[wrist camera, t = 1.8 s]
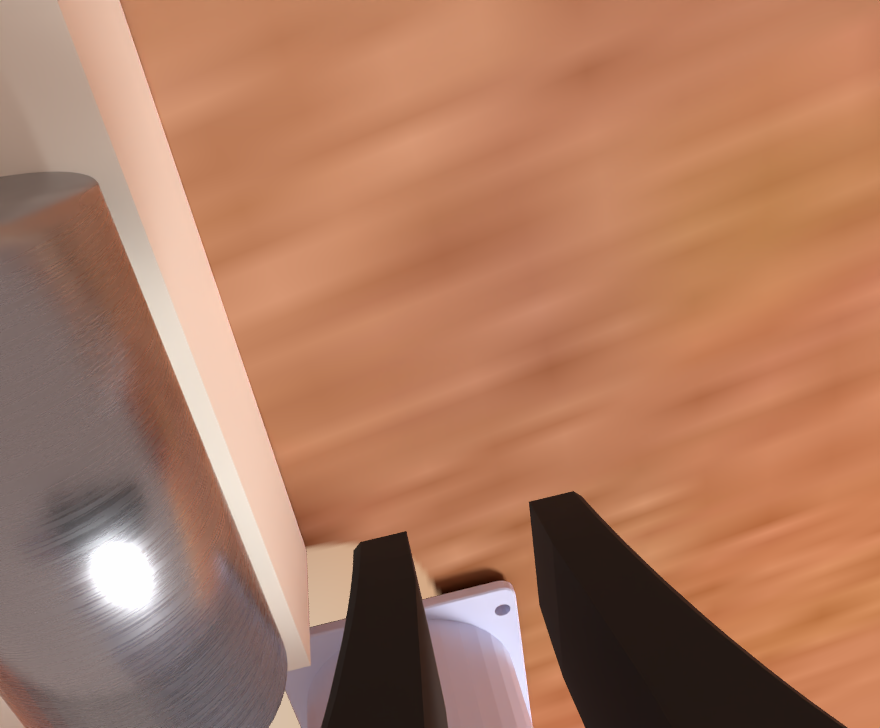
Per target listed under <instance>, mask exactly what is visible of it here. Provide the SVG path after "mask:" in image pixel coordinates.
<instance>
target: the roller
mask: <svg viewBox="0 0 880 728" xmlns="http://www.w3.org/2000/svg"><path fill="white" fill-rule="evenodd" d="M287 669H288V663H287V654H286V650H285V646H284V643H283V640H282V638H281V635H280V633H279V630H278V628H277V625H276V623H275V620H274V618H273V615H272V613H271V610H270V608H269V605H268V603H267V600H266V598H265V595H264V593H263V591H262V588H261V586H260V583H259V581H258V578H257V576H256V573H255V571H254V568H253V566H252V563H251V561H250V558H249V556H248V553H247V551H246V548H245V546H244V543H243V541H242V538H241V536H240V533H239V531H238V529H237V526H236V524H235V521H234V519H233V516H232V514H231V511H230V509H229V506H228V504H227V501H226V499H225V496H224V494H223V491H222V489H221V486H220V484H219V481H218V479H217V476H216V474H215V471H214V469H213V467H212V464H211V462H210V459H209V457H208V454H207V452H206V449H205V447H204V444H203V442H202V439H201V437H200V434H199V432H198V429H197V427H196V424H195V422H194V419H193V417H192V414H191V412H190V409H189V407H188V405H187V402H186V400H185V397H184V395H183V392H182V390H181V387H180V385H179V382H178V380H177V377H176V375H175V372H174V370H173V367H172V365H171V362H170V360H169V357H168V355H167V352H166V350H165V347H164V345H163V343H162V340H161V338H160V335H159V333H158V330H157V328H156V325H155V323H154V320H153V318H152V315H151V313H150V310H149V308H148V305H147V303H146V300H145V298H144V295H143V293H142V290H141V288H140V285H139V283H138V280H137V278H136V276H135V273H134V271H133V268H132V266H131V263H130V261H129V258H128V256H127V253H126V251H125V248H124V246H123V243H122V241H121V238H120V236H119V233H118V231H117V228H116V226H115V223H114V221H113V218H112V216H111V214H110V211H109V209H108V206H107V204H106V201H105V199H104V196H103V194H102V191H101V189H100V186H99V184H98V182H97V181H96V180H95V179H94V178H92V177H90V176H88V175H84V174H81V173H74V172H36V173H25V174H17V175H9V176H2V177H0V696H1V698H2V699H3V700H4V701H5V703H6V704H7V705H8V707H9V708H10V709H11V710H12V712H13V713H14V714H15V716H16V717H17V718H18V719H19V721H20V722H21V723H22V725H23V726H24V727H25V728H269V726H270V724H271V722H272V721H273V719H274V717H275V715H276V713H277V710H278V708H279V706H280V704H281V701H282V698H283V694H284V691H285V686H286V681H287Z"/></svg>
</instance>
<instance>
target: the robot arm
mask: <svg viewBox="0 0 880 728" xmlns="http://www.w3.org/2000/svg"><path fill="white" fill-rule="evenodd" d="M529 507H530V517H531V526H532V536H533V546H534V556H535V566H536V575H537V585H538V595H539V605H540V608H541V611H542V614H543V617H544V620H545V623H546V627H547V630H548V633H549V636H550V639H551V642H552V645H553V648H554V651H555V654H556V657H557V660H558V663H559V666H560V669H561V672H562V675H563V678H564V680H565V682H566V685H567V687H568V689H569V692H570V694H571V696H572V698H573V701H574V703H575V705H576V707H577V710H578V712H579V714H580V717H581V719H582V721H583V723H584V726H585V728H847V727H846V726H844V725H843V724H842V723H840V722H839V721H837V720H836V719H835V718H833V717H832V716H830V715H829V714H828V713H826V712H825V711H823V710H822V709H821V708H819V707H818V706H817V705H815V704H814V703H812V702H811V701H810V700H808V699H807V698H806V697H804V696H803V695H802V694H800V693H799V692H798V691H796V690H795V689H794V688H792V687H791V686H790V685H789V684H787V683H786V682H785V681H783V680H782V679H781V678H780V677H778V676H777V675H776V674H774V673H773V672H772V671H770V670H769V669H768V668H767V667H765V666H764V665H763V664H762V663H760V662H759V661H758V660H757V659H756V658H754V657H753V656H752V655H751V654H749V653H748V652H747V651H746V650H744V649H743V648H742V647H741V646H740V645H738V644H737V643H736V642H735V641H733V640H732V639H731V638H730V637H729V636H727V635H726V634H725V633H724V632H723V631H721V630H720V629H719V628H718V627H717V626H716V625H714V624H713V623H712V622H711V621H710V620H709V619H707V618H706V617H705V616H704V615H703V614H702V613H701V612H699V611H698V610H697V609H696V608H695V607H694V606H693V605H692V604H691V603H689V602H688V601H687V600H686V599H685V598H684V597H683V596H682V595H681V594H679V593H678V592H677V591H676V590H675V589H674V588H673V587H672V586H670V585H669V584H668V583H667V582H666V581H665V580H664V579H663V578H662V577H661V576H660V575H658V574H657V573H656V572H655V571H654V570H653V569H652V568H651V567H650V566H649V565H648V564H647V563H646V562H645V561H644V560H643V559H642V558H641V557H640V556H639V555H638V554H637V553H636V552H635V551H634V550H633V549H632V548H630V547H629V546H628V545H627V544H626V543H625V542H624V541H623V540H622V539H621V538H620V537H619V536H618V535H617V533H616V532H615V531H614V530H613V529H612V528H611V527H610V526H609V525H608V524H607V523H606V522H605V521H604V520H603V519H602V518H601V517H600V516H599V515H598V514H597V513H596V512H595V510H594V509H593V508H592V507H591V506H590V505H589V504H588V503H587V502H586V501H585V499H584V498H583V497H582V496H580V495H579V494H577V493H575V492H574V491H573V492H568V493H564V494H560V495H556V496H552V497H547V498H543V499H539V500H535V501H531V502H529ZM500 605H501V606H500ZM309 629H310V656H311V666H307V667H303V668H299V669H295V670H291V671H288V672H287V681H286V686H285V691H286V693H287V695H288V698H289V700H290V703H291V705H292V707H293V710H294V712H295V714H296V717H297V719H298V721H299V724H300V726H301V728H533V726H532V719H531V711H530V704H529V696H528V688H527V680H526V672H525V664H524V657H523V649H522V641H521V633H520V625H519V617H518V610H517V602H516V595H515V592H514V589H513V586H512V584H510V583H509V582H507V581H495V582H491V583H487V584H483V585H479V586H475V587H471V588H467V589H463V590H459V591H455V592H451V593H447V594H443V595H438V596H434V597H431V598H426V599H422V597H421V593H420V589H419V584H418V580H417V576H416V571H415V567H414V562H413V558H412V554H411V550H410V545H409V541H408V537H407V532H406V531H405V532H401V533H397V534H393V535H389V536H384V537H380V538H376V539H372V540H368V541H364V542H360V543H359V545H358V546H357V547H356V548H355V550H354V555H353V574H352V583H351V591H350V598H349V605H348V611H347V616H346V619H342V620H338V621H334V622H330V623H325V624H321V625H317V626H313V627H309Z"/></svg>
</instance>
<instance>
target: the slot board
mask: <svg viewBox="0 0 880 728" xmlns="http://www.w3.org/2000/svg"><path fill="white" fill-rule="evenodd" d="M36 172H74V173H81V174H84V175H88V176H90V177H92V178H94V179H95V180H96V181H97V182H98V184H99V186H100V189H101V191H102V194H103V196H104V199H105V201H106V204H107V206H108V209H109V211H110V214H111V216H112V218H113V221H114V223H115V226H116V228H117V231H118V233H119V236H120V238H121V241H122V243H123V246H124V248H125V251H126V253H127V256H128V258H129V261H130V263H131V266H132V268H133V271H134V273H135V276H136V278H137V280H138V283H139V285H140V288H141V290H142V293H143V295H144V298H145V300H146V303H147V305H148V308H149V310H150V313H151V315H152V318H153V320H154V323H155V325H156V328H157V330H158V333H159V335H160V338H161V340H162V343H163V345H164V347H165V350H166V352H167V355H168V357H169V360H170V362H171V365H172V367H173V370H174V372H175V375H176V377H177V380H178V382H179V385H180V387H181V390H182V392H183V395H184V397H185V400H186V402H187V405H188V407H189V409H190V412H191V414H192V417H193V419H194V422H195V424H196V427H197V429H198V432H199V434H200V437H201V439H202V442H203V444H204V447H205V449H206V452H207V454H208V457H209V459H210V462H211V464H212V467H213V469H214V471H215V474H216V476H217V479H218V481H219V484H220V486H221V489H222V491H223V494H224V496H225V499H226V501H227V504H228V506H229V509H230V511H231V514H232V516H233V519H234V521H235V524H236V526H237V529H238V531H239V533H240V536H241V538H242V541H243V543H244V546H245V548H246V551H247V553H248V556H249V558H250V561H251V563H252V566H253V568H254V571H255V573H256V576H257V578H258V581H259V583H260V586H261V588H262V591H263V593H264V595H265V598H266V600H267V603H268V605H269V608H270V610H271V613H272V615H273V618H274V620H275V623H276V625H277V628H278V630H279V633H280V635H281V638H282V640H283V643H284V646H285V650H286V654H287V663H288V669H287V672H288V671H291V670H295V669H299V668H303V667H307V666H311V656H310V629H309V602H308V575H307V551H306V548H305V545H304V542H303V539H302V536H301V533H300V530H299V527H298V524H297V521H296V518H295V515H294V512H293V509H292V506H291V503H290V501H289V498H288V495H287V492H286V489H285V486H284V483H283V480H282V477H281V474H280V471H279V468H278V465H277V462H276V459H275V456H274V453H273V451H272V448H271V445H270V442H269V439H268V436H267V433H266V430H265V427H264V424H263V421H262V418H261V415H260V412H259V409H258V406H257V404H256V401H255V398H254V395H253V392H252V389H251V386H250V383H249V380H248V377H247V374H246V371H245V368H244V365H243V362H242V359H241V356H240V354H239V351H238V348H237V345H236V342H235V339H234V336H233V333H232V330H231V327H230V324H229V321H228V318H227V315H226V312H225V309H224V306H223V304H222V301H221V298H220V295H219V292H218V289H217V286H216V283H215V280H214V277H213V274H212V271H211V268H210V265H209V262H208V259H207V256H206V254H205V251H204V248H203V245H202V242H201V239H200V236H199V233H198V230H197V227H196V224H195V221H194V218H193V215H192V212H191V209H190V207H189V204H188V201H187V198H186V195H185V192H184V189H183V186H182V183H181V180H180V177H179V174H178V171H177V168H176V165H175V162H174V159H173V157H172V154H171V151H170V148H169V145H168V142H167V139H166V136H165V133H164V130H163V127H162V124H161V121H160V118H159V115H158V112H157V109H156V107H155V104H154V101H153V98H152V95H151V92H150V89H149V86H148V83H147V80H146V77H145V74H144V71H143V68H142V65H141V62H140V59H139V57H138V54H137V51H136V48H135V45H134V42H133V39H132V36H131V33H130V30H129V27H128V24H127V21H126V18H125V15H124V12H123V10H122V7H121V4H120V1H119V0H0V177H2V176H9V175H17V174H25V173H36ZM0 728H25V727H24V726H23V725H22V723H21V722H20V721H19V719H18V718H17V717H16V716H15V714H14V713H13V712H12V710H11V709H10V708H9V707H8V705H7V704H6V703H5V701H4V700H3V699H2V698H1V696H0Z"/></svg>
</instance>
